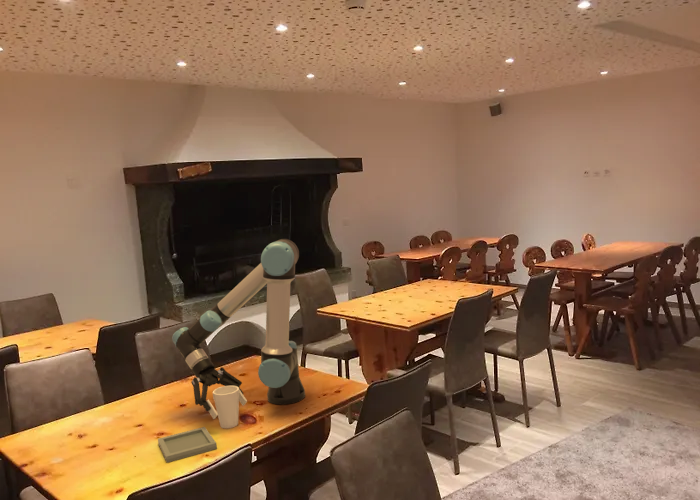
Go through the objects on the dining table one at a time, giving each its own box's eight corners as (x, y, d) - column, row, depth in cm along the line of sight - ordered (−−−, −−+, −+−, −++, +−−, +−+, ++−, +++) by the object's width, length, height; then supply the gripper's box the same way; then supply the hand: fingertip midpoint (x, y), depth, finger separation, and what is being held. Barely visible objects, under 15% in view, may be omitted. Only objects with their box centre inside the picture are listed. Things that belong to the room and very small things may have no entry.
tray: (205, 432, 202) (204, 426, 201) (216, 448, 188) (216, 443, 187) (158, 444, 194) (157, 438, 194) (166, 462, 180) (166, 456, 180)
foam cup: (230, 417, 213) (226, 384, 212) (247, 422, 208) (244, 387, 206) (210, 427, 206) (207, 392, 204) (228, 432, 200) (224, 396, 199)
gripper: (222, 360, 224) (252, 403, 217) (168, 380, 204) (198, 428, 197) (230, 349, 220) (260, 392, 213) (175, 367, 201) (207, 416, 193)
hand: (230, 410), depth 205 cm, fingers open, 13 cm apart
